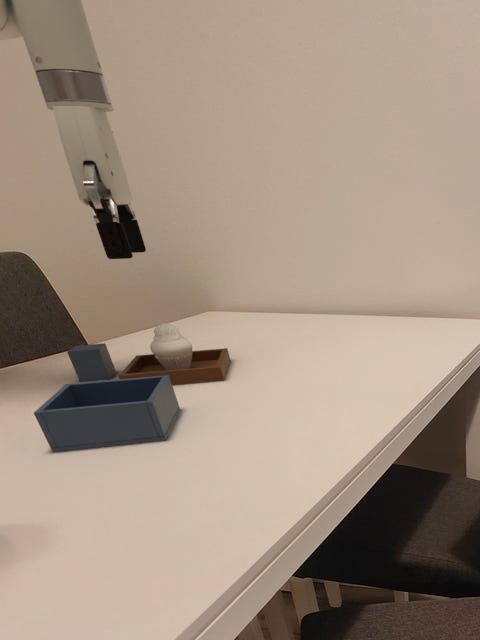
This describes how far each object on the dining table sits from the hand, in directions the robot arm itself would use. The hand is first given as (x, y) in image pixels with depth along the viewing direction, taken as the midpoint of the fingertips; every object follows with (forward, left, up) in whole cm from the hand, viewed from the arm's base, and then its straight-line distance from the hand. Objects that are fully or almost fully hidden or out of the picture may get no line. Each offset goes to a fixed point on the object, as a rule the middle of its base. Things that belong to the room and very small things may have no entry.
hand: (128, 255), depth 85 cm
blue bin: (-1, -27, -16) cm, 32 cm away
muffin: (+2, 0, -16) cm, 16 cm away
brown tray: (+2, 0, -16) cm, 17 cm away
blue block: (-11, +3, -16) cm, 20 cm away
